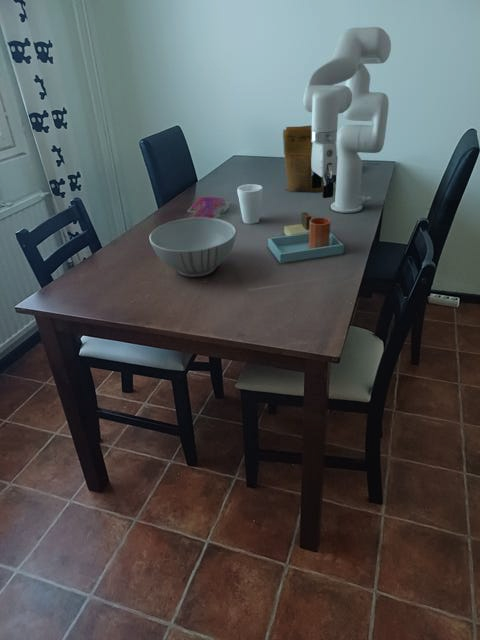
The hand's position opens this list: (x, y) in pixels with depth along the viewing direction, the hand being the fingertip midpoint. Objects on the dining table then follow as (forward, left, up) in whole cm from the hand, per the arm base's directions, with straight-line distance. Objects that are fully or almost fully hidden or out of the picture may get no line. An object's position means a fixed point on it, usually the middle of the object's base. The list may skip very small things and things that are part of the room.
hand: (321, 192), depth 150 cm
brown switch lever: (0, -12, -16) cm, 20 cm away
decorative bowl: (+42, +1, -19) cm, 46 cm away
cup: (0, 0, -19) cm, 19 cm away
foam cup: (+15, -33, -19) cm, 41 cm away
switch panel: (+1, -12, -19) cm, 23 cm away
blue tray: (+5, 0, -19) cm, 20 cm away
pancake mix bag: (-17, -60, -19) cm, 65 cm away
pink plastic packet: (+30, -45, -19) cm, 57 cm away
